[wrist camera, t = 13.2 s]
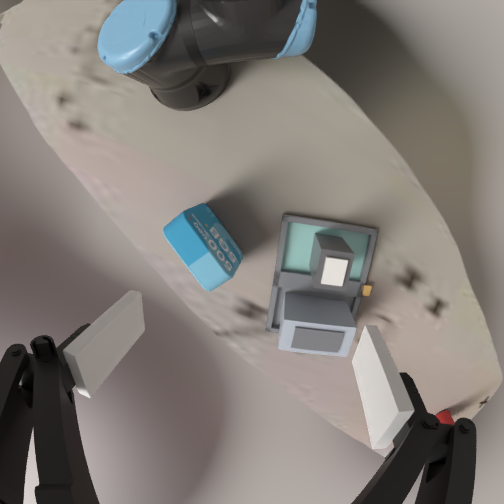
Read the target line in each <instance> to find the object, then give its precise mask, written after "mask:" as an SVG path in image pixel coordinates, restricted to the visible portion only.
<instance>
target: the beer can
mask: <svg viewBox="0 0 504 504" xmlns="http://www.w3.org/2000/svg"><path fill="white" fill-rule="evenodd" d="M436 417H437V418H438V419H439V420H440V423H443V424H451V425H454V421H453V418H452V416H451V414H450V412H449V411H447V410H445V411H442V412H440V413H438V414H437V415H436Z"/></svg>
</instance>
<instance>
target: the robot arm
mask: <svg viewBox="0 0 504 504" xmlns="http://www.w3.org/2000/svg"><path fill="white" fill-rule="evenodd" d="M316 3H317V0H124V1H123V2H121V3H120V4H119V5H118V6H117V7H116V8H115V9H114V10H113V11H112V13H111V15H110V16H109V17H108V18H107V19H106V21H105V23H104V25H103V27H102V29H101V31H100V34H99V38H98V52H99V55H100V58H101V59H102V61H103V62H104V63H105V64H107V65H108V66H110V67H112V68H113V69H114V70H115V71H116V72H118V73H120V74H124V75H126V76H128V77H131V78H133V79H135V80H137V81H139V82H141V83H143V84H146V85H148V86H149V88H150V90H151V92H152V94H153V95H154V97H155V98H156V99H157V100H158V101H159V102H160V103H161V104H163V105H165V106H167V107H169V108H171V109H174V110H179V111H189V110H195V109H198V108H201V107H203V106H205V105H207V104H209V103H211V102H212V101H213V100H215V99H216V98H217V97H218V96H219V95H220V94H221V93H222V91H223V90H224V88H225V87H226V85H227V83H228V81H229V77H230V72H231V65H230V63H231V62H238V61H247V60H257V59H278V58H280V57H290V56H299V55H301V54H303V53H305V52H306V51H307V50H308V49H309V47H310V46H311V44H312V41H313V38H314V34H315V29H316V21H317V10H316ZM144 330H145V326H144V317H143V307H142V296H141V292H137V291H132V290H130V291H129V292H128V293H127V294H125V295H124V296H123V297H122V298H121V299H120V300H118V301H117V302H116V303H115V304H114V305H113V306H111V307H110V308H109V309H108V310H107V311H106V312H105V313H103V314H102V315H101V316H100V317H99V318H98V319H97V320H96V321H94V322H93V323H92V324H86V325H84V326H81V327H80V328H79V329H77V330H76V331H75V332H74V333H73V334H72V335H71V336H70V337H68V339H66V340H65V341H64V342H63V343H62V344H61V345H59V346H58V347H57V348H56V347H55V344H54V341H53V339H52V338H51V337H50V336H47V335H42V336H38V337H36V338H34V339H33V340H32V341H31V343H30V346H31V349H32V351H33V354H30V353H28V352H27V350H26V348H25V346H24V345H22V344H14V345H11V346H10V347H9V348H8V349H7V350H6V352H5V354H4V356H3V358H2V360H1V362H0V504H23V500H24V484H25V474H26V465H27V457H28V451H29V445H30V439H31V433H32V429H33V428H34V443H35V454H36V462H37V469H38V476H39V486H36V487H35V497H36V502H37V504H99V501H98V498H97V495H96V492H95V489H94V486H93V483H92V480H91V477H90V473H89V469H88V466H87V462H86V458H85V454H84V450H83V446H82V441H81V436H80V431H79V426H78V420H77V414H76V407H75V401H74V393H73V390H72V388H73V387H74V386H75V385H76V387H77V389H78V391H79V393H80V394H82V395H85V396H87V397H89V398H91V397H92V396H93V395H94V393H95V392H96V391H97V389H98V388H99V387H100V385H101V384H102V383H103V382H104V380H105V379H106V378H107V377H108V375H109V374H110V373H111V372H112V370H113V369H114V368H115V367H116V365H117V364H118V363H119V362H120V360H121V359H122V358H123V356H124V355H125V354H126V353H127V351H128V350H129V349H130V348H131V347H132V345H133V344H134V343H135V342H136V341H137V339H138V338H139V337H140V336H141V334H142V333H143V332H144ZM352 364H353V368H354V371H355V375H356V379H357V383H358V387H359V391H360V395H361V399H362V404H363V408H364V412H365V417H366V421H367V426H368V430H369V435H370V440H371V445H372V449H379V448H387V447H388V446H389V445H390V443H391V442H392V441H393V444H394V448H393V449H392V450H391V452H390V453H389V454H388V455H387V456H386V457H385V461H384V462H383V464H382V465H381V467H380V468H379V469H378V471H377V472H376V474H375V475H374V476H373V478H372V479H371V480H370V481H369V483H368V484H367V485H366V487H365V488H364V489H363V490H362V492H361V493H360V494H359V496H357V498H356V499H355V500H354V501H353V502H352V503H351V504H402V503H403V501H404V500H405V498H406V497H407V495H408V493H409V492H410V490H411V488H412V486H413V485H414V483H415V481H416V479H417V478H418V476H419V474H420V472H421V470H422V468H423V466H424V464H425V466H424V470H423V475H422V479H421V483H420V487H419V491H418V494H417V498H416V501H415V504H471V503H472V497H473V489H474V480H475V467H476V427H475V424H474V423H473V422H472V421H471V420H470V419H467V418H460V419H458V420H457V421H456V422H455V423H454V425H451V424H443V423H440V420H439V419H438V418H437V417H436V416H435V415H433V414H430V413H428V412H427V410H426V408H425V405H424V403H423V401H422V399H421V396H420V394H419V393H418V390H417V387H416V385H415V383H414V381H413V379H412V378H411V377H410V376H409V375H408V374H407V373H399V372H398V369H397V367H396V365H395V363H394V360H393V358H392V356H391V354H390V352H389V350H388V347H387V345H386V343H385V341H384V339H383V337H382V335H381V333H380V331H379V329H378V327H377V326H376V325H365V327H364V330H363V333H362V336H361V338H360V341H359V344H358V347H357V350H356V352H355V355H354V358H353V360H352ZM19 383H20V384H19Z"/></svg>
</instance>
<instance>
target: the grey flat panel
mask: <svg viewBox="0 0 504 504" xmlns="http://www.w3.org/2000/svg"><path fill="white" fill-rule="evenodd" d="M377 232H378V230H377V229H375V228H369V227H363V226H358V225H352V224H346V223H340V222H334V221H328V220H322V219H315V218H309V217H302V216H295V215H288V214H283V217H282V224H281V231H280V238H279V245H278V252H277V259H276V266H275V273H274V279H273V286H272V293H271V299H270V305H269V312H268V318H267V324H266V330H265V332H272V333H279V328H280V317H281V312H282V306H283V301H284V295H285V292H286V293H293V294H300V295H308V296H316V297H323V298H331V299H339V300H346V301H347V304H348V306H349V309H350V312H351V314H352V317H353V319H354V321H355V318H356V314H357V311H358V308H359V304H360V301H361V297H362V295H364V296H369V295H370V292H371V288H372V286H371V285H365V283H366V279H367V275H368V271H369V267H370V263H371V259H372V255H373V250H374V246H375V241H376V237H377ZM315 233H319V234H325V235H332V236H338V237H342V238H343V239H344V240H345V242H346V243H347V244H348V246H349V247H350V248H351V250H352V251H353V252H354V253H355V255H354V260H353V264H352V268H351V273H350V277H349V281H348V285H347V289H346V292H342V291H334V290H327V289H319V288H314V287H313V282H312V277H311V273H310V268H309V262H310V257H311V251H312V245H313V240H314V234H315Z"/></svg>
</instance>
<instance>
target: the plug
mask: <svg viewBox="0 0 504 504" xmlns="http://www.w3.org/2000/svg"><path fill="white" fill-rule="evenodd" d="M354 255H355V253H354V252H353V251H352V250H351V248H350V247H349V246H348V244H347V243H346V242H345V240H344V239H343V238H342V237H338V236H332V235H325V234H319V233H315V234H314V240H313V245H312V251H311V257H310V262H309V268H310V273H311V277H312V282H313V287H314V288H319V289H327V290H334V291H342V292H346V289H347V285H348V281H349V277H350V273H351V268H352V264H353V260H354Z"/></svg>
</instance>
